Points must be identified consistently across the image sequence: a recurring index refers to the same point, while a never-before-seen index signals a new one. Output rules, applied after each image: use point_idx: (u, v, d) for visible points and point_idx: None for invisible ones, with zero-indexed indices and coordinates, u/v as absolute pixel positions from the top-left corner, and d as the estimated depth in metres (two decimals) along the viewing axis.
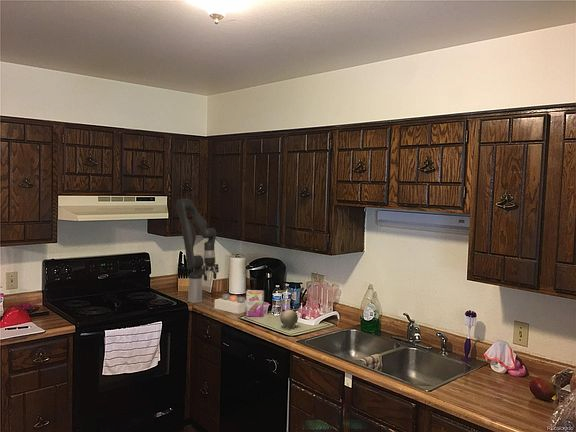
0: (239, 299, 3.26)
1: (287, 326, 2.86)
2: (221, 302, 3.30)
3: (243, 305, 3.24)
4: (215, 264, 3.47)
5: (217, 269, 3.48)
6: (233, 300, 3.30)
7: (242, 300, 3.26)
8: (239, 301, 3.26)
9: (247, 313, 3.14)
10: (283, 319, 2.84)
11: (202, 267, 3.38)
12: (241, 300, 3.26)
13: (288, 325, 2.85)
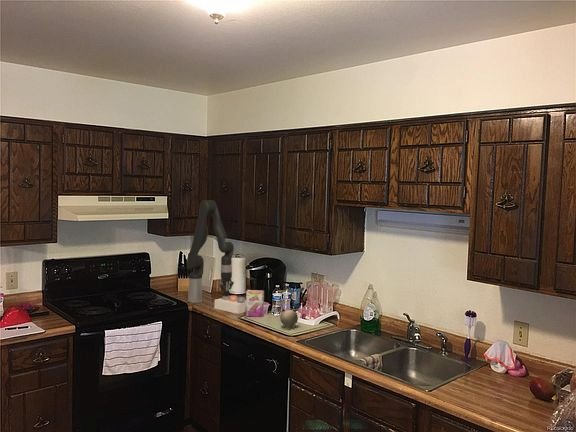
0: (239, 299, 3.26)
1: (287, 326, 2.86)
2: (221, 302, 3.30)
3: (243, 305, 3.24)
4: (231, 281, 3.40)
5: (230, 286, 3.38)
6: (233, 300, 3.30)
7: (242, 300, 3.26)
8: (239, 301, 3.26)
9: (247, 313, 3.14)
10: (283, 319, 2.84)
11: (220, 285, 3.32)
12: (241, 300, 3.26)
13: (288, 325, 2.85)
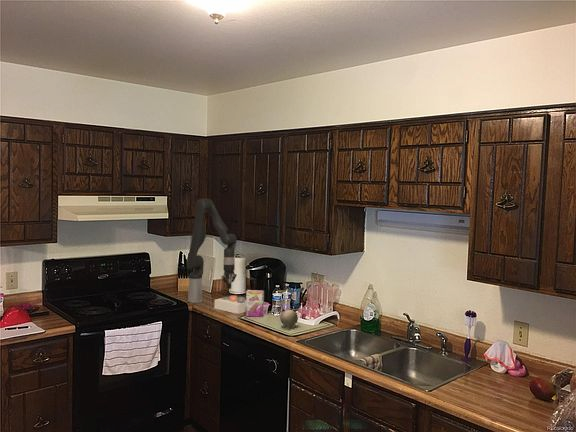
0: (239, 299, 3.26)
1: (287, 326, 2.86)
2: (221, 302, 3.30)
3: (243, 305, 3.24)
4: (234, 273, 3.38)
5: (233, 278, 3.36)
6: (233, 300, 3.30)
7: (242, 300, 3.26)
8: (239, 301, 3.26)
9: (247, 313, 3.14)
10: (283, 319, 2.84)
11: (222, 278, 3.30)
12: (241, 300, 3.26)
13: (288, 325, 2.85)
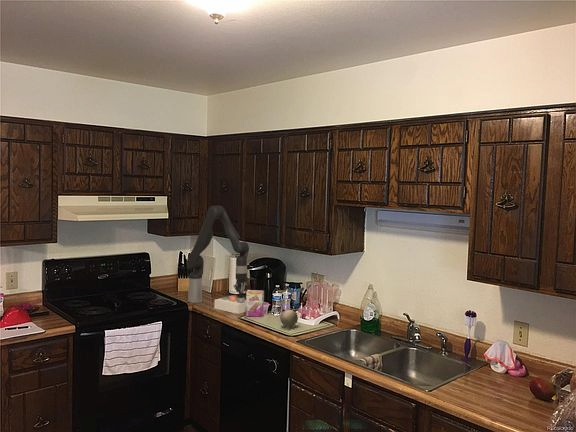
0: (239, 299, 3.26)
1: (287, 326, 2.86)
2: (221, 302, 3.30)
3: (243, 305, 3.24)
4: (246, 282, 3.31)
5: (245, 287, 3.30)
6: (233, 300, 3.30)
7: (242, 300, 3.26)
8: (239, 301, 3.26)
9: (247, 313, 3.14)
10: (283, 319, 2.84)
11: (235, 287, 3.23)
12: (241, 300, 3.26)
13: (288, 325, 2.85)
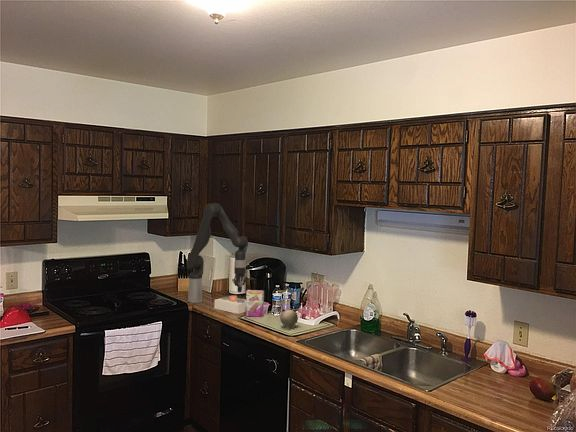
0: (239, 302, 3.26)
1: (287, 326, 2.86)
2: (221, 302, 3.30)
3: (243, 305, 3.24)
4: None
5: (244, 281, 3.30)
6: (233, 300, 3.30)
7: None
8: None
9: (247, 313, 3.14)
10: (283, 319, 2.84)
11: (233, 281, 3.24)
12: None
13: (288, 325, 2.85)
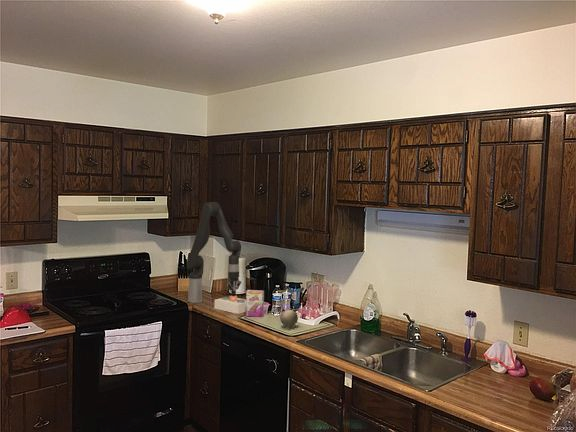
0: (239, 302, 3.26)
1: (287, 326, 2.86)
2: (221, 302, 3.30)
3: (243, 305, 3.24)
4: None
5: (238, 286, 3.34)
6: (233, 300, 3.30)
7: None
8: None
9: (247, 313, 3.14)
10: (283, 319, 2.84)
11: (227, 285, 3.28)
12: None
13: (288, 325, 2.85)
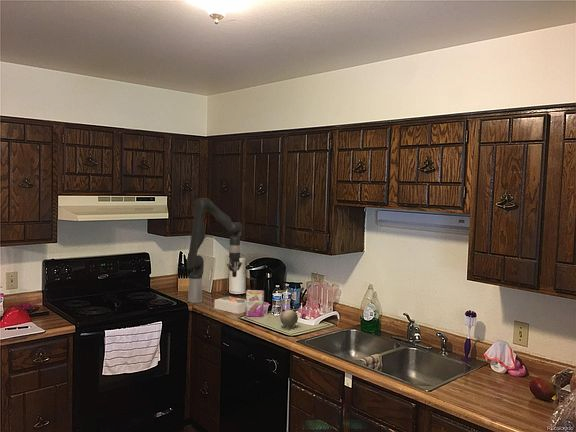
0: (239, 302, 3.26)
1: (287, 326, 2.86)
2: (221, 302, 3.30)
3: (243, 305, 3.24)
4: (239, 261, 3.37)
5: (239, 267, 3.35)
6: None
7: None
8: None
9: (247, 313, 3.14)
10: (283, 319, 2.84)
11: (228, 266, 3.29)
12: None
13: (288, 325, 2.85)
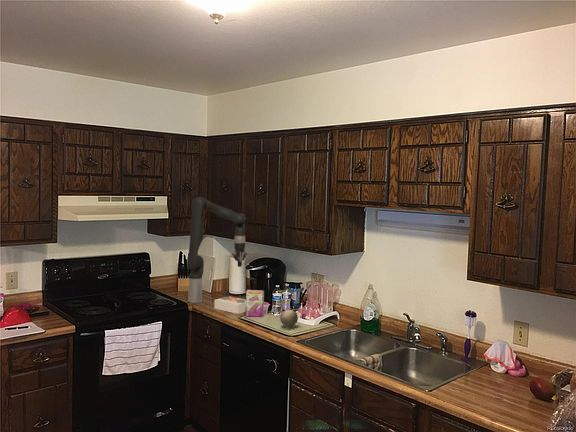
0: (239, 302, 3.26)
1: (287, 326, 2.86)
2: (221, 302, 3.30)
3: (243, 305, 3.24)
4: (244, 252, 3.48)
5: (244, 257, 3.46)
6: None
7: None
8: None
9: (247, 313, 3.14)
10: (283, 319, 2.84)
11: (233, 255, 3.40)
12: None
13: (288, 325, 2.85)
